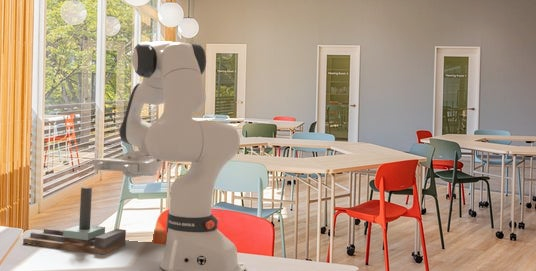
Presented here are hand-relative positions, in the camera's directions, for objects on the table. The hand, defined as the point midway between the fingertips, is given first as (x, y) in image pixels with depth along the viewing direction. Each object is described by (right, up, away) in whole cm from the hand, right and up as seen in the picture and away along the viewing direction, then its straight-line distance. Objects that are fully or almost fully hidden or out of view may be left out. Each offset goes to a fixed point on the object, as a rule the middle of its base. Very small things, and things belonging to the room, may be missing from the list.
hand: (112, 167), depth 171 cm
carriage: (-5, -19, -13) cm, 23 cm away
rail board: (-8, -22, -12) cm, 26 cm away
